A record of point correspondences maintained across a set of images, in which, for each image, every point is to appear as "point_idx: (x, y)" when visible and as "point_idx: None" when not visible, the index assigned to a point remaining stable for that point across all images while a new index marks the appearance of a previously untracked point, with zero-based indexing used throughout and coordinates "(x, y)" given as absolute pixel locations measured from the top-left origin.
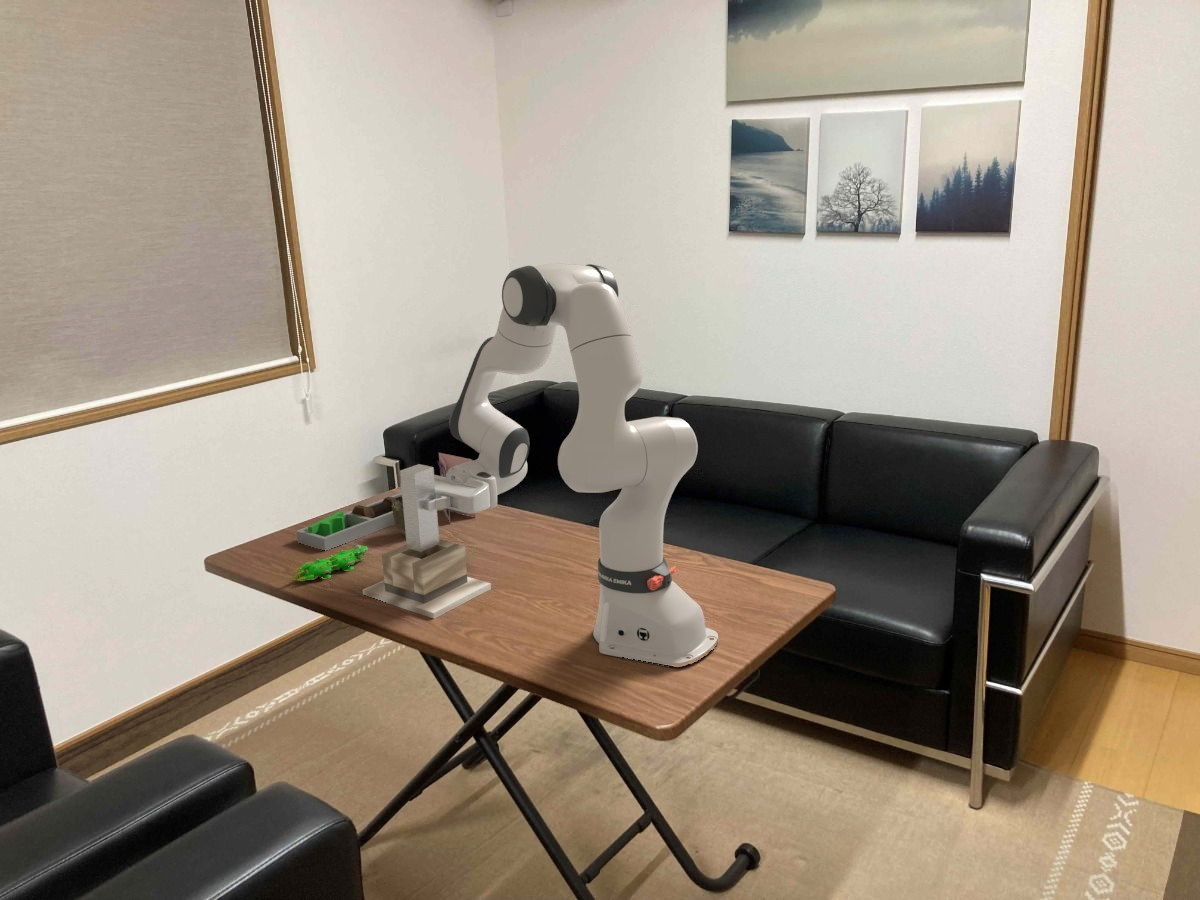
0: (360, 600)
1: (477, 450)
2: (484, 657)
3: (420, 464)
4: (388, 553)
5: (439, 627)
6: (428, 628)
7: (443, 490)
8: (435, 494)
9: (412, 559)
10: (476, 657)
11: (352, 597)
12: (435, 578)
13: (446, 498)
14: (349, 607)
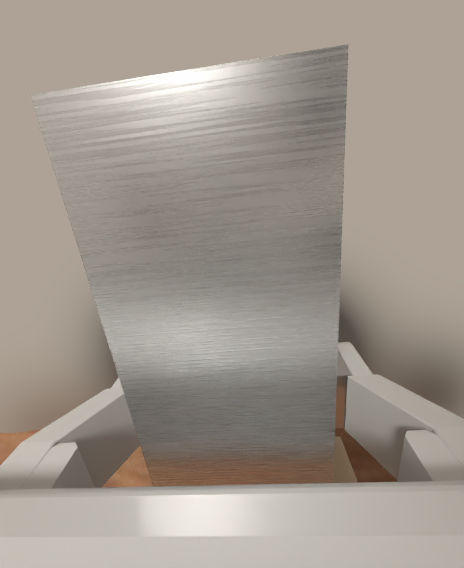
0: (356, 470)
1: None
2: (13, 440)
3: (306, 51)
4: (334, 453)
5: (120, 474)
6: (140, 459)
7: (39, 512)
8: (133, 422)
9: None
10: (27, 434)
11: (386, 470)
12: None
13: (10, 461)
14: (336, 436)
